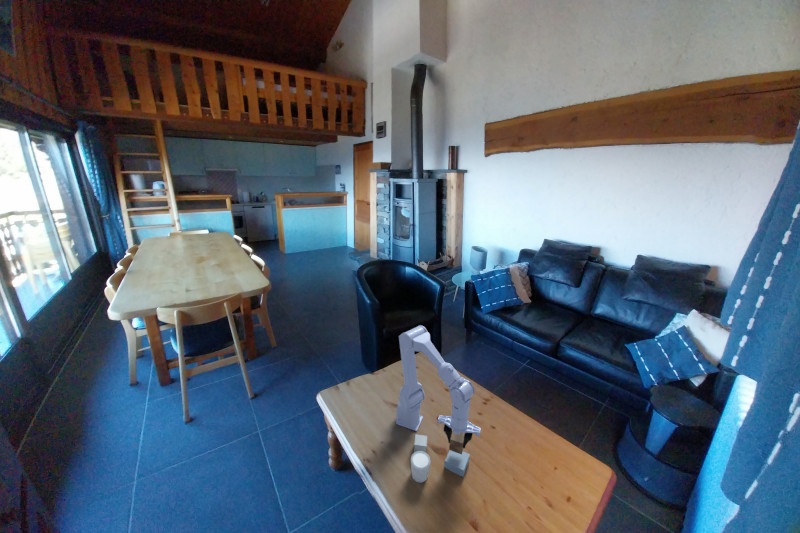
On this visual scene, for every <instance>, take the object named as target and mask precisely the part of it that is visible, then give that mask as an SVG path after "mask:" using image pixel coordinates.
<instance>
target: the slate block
mask: <svg viewBox="0 0 800 533" xmlns="http://www.w3.org/2000/svg"><path fill="white" fill-rule="evenodd" d="M470 457H471V454H470V453H468V452H465V451H464V450H463V452H462V454H459V453H456V452H454V451H451V450H449V451H448V453H447V455H446V457H445V459H444V464H443V468H444V469H447V470H448V471H451V473H454V474H456V475H458V476H460V477H461V476H462V478H464V475H465V473H466V471H467V468H468V465H469V463H470Z"/></svg>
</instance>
